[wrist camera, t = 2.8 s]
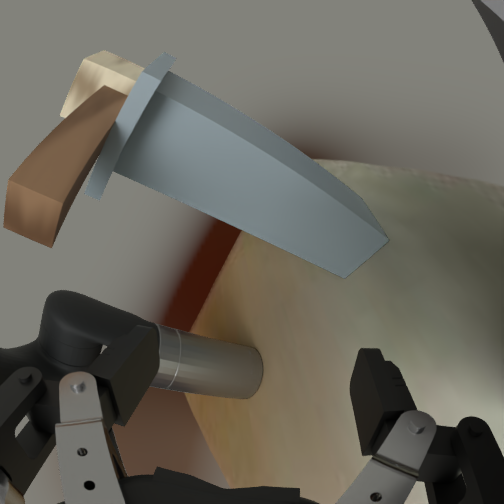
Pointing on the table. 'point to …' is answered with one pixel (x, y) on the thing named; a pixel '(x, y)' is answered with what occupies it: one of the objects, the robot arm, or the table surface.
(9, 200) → the brown wooden bar
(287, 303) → the table surface
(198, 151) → the tall plinth
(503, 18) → the grey tall block
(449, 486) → the robot arm
